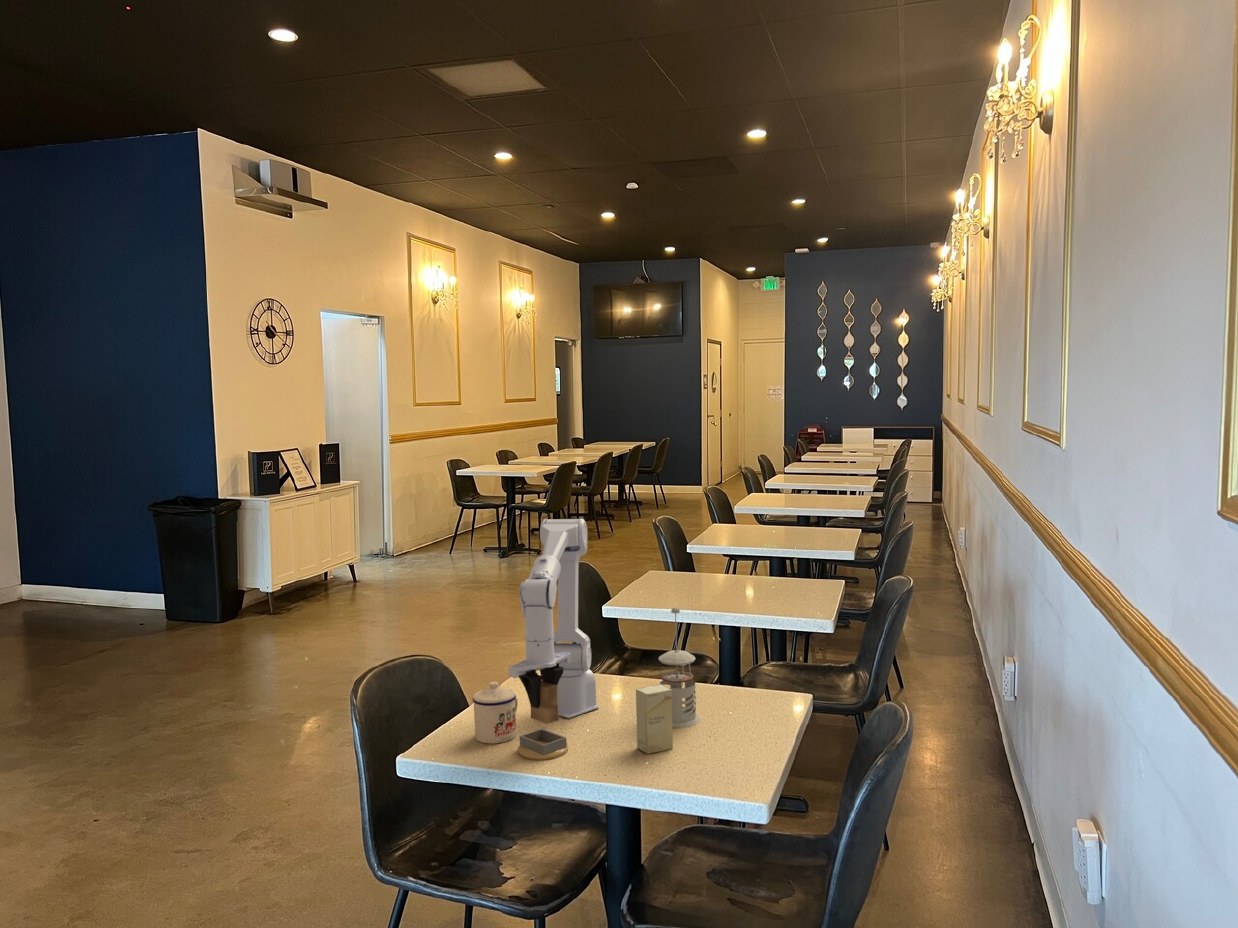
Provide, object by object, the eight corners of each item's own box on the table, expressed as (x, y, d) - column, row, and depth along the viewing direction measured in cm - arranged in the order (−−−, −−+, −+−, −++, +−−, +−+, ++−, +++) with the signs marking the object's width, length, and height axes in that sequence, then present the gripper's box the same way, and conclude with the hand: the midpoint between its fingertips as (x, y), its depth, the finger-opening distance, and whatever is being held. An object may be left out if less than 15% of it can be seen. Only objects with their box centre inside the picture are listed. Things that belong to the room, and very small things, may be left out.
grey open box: (547, 737, 189) (546, 724, 189) (578, 749, 181) (577, 735, 181) (508, 750, 182) (508, 737, 182) (539, 764, 175) (538, 749, 174)
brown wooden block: (542, 714, 184) (541, 680, 183) (558, 719, 180) (557, 685, 180) (530, 717, 182) (529, 683, 181) (546, 723, 178) (545, 689, 178)
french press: (649, 724, 194) (646, 610, 193) (667, 707, 205) (664, 599, 203) (693, 729, 191) (690, 613, 189) (708, 711, 201) (706, 601, 200)
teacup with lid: (499, 747, 184) (497, 691, 183) (465, 740, 189) (462, 685, 188) (533, 728, 194) (531, 675, 194) (500, 722, 199) (498, 670, 198)
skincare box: (647, 754, 178) (645, 694, 177) (636, 747, 182) (634, 688, 181) (674, 748, 181) (672, 689, 180) (663, 741, 184) (661, 683, 184)
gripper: (522, 649, 172) (525, 718, 173) (579, 634, 182) (582, 699, 183) (501, 642, 177) (503, 710, 178) (557, 628, 187) (559, 692, 188)
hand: (542, 704), depth 181 cm, fingers closed on brown wooden block, 3 cm apart
